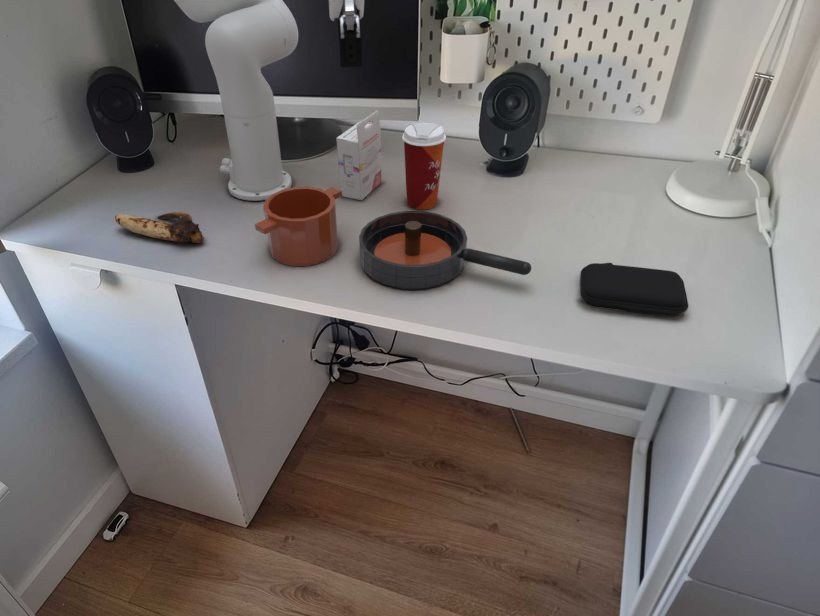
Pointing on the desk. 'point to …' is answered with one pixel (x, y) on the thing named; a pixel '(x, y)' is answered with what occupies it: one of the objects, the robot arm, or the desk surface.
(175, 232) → the overripe banana
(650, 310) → the carrying case
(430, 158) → the paper cup
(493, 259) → the pan handle
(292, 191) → the pot
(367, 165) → the ink cartridge box
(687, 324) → the desk surface
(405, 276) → the pan
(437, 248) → the lid
